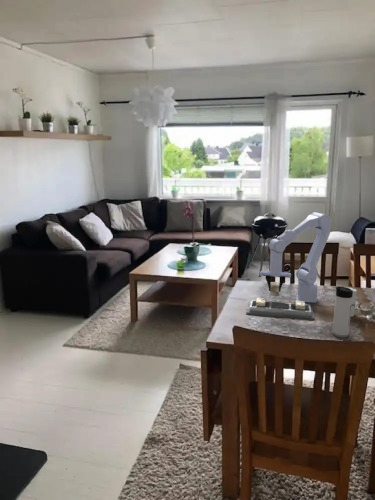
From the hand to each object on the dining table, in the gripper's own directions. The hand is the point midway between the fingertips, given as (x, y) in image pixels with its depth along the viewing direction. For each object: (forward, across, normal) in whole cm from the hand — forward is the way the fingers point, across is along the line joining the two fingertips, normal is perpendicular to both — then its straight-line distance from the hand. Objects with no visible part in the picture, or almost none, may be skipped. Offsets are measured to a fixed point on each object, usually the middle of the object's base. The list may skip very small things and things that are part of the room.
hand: (274, 290), depth 202 cm
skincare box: (+6, +33, -8) cm, 34 cm away
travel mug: (+6, +27, -32) cm, 42 cm away
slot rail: (+6, +3, -12) cm, 14 cm away
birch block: (+2, 0, 0) cm, 2 cm away
